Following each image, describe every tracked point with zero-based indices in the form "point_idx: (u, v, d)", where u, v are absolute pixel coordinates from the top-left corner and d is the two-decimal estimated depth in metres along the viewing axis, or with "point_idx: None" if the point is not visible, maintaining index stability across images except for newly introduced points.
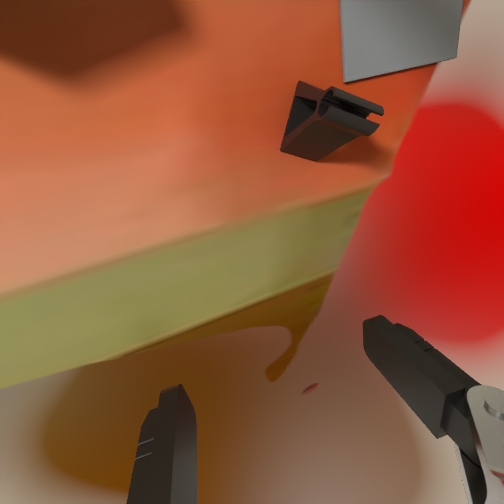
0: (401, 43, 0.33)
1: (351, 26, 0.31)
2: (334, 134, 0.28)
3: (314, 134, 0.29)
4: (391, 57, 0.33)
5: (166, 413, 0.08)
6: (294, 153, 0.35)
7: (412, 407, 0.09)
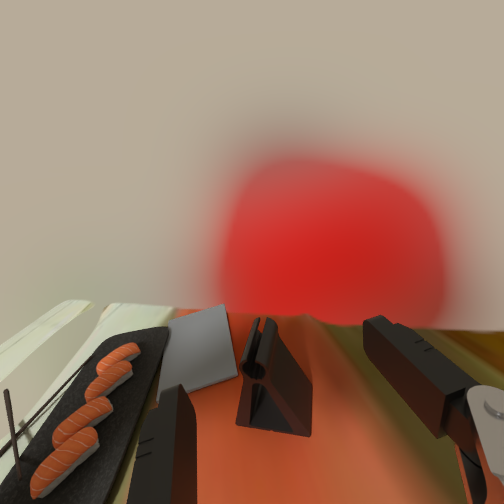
0: (213, 338, 0.43)
1: (198, 379, 0.36)
2: (280, 360, 0.27)
3: (284, 383, 0.26)
4: (221, 342, 0.42)
5: (166, 413, 0.08)
6: (309, 413, 0.28)
7: (412, 407, 0.09)
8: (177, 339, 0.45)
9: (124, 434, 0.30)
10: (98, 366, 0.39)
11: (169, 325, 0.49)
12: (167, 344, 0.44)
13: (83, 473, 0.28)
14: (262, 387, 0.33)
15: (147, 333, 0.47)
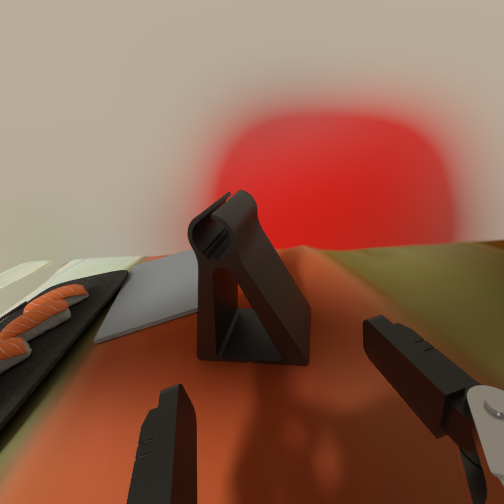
0: (182, 275, 0.33)
1: (154, 314, 0.26)
2: (261, 249, 0.18)
3: (265, 277, 0.16)
4: (192, 277, 0.32)
5: (166, 413, 0.08)
6: (306, 335, 0.19)
7: (412, 407, 0.09)
8: (138, 280, 0.35)
9: (32, 380, 0.20)
10: (25, 307, 0.30)
11: (132, 269, 0.39)
12: (125, 285, 0.34)
13: None
14: (240, 315, 0.23)
15: (102, 278, 0.37)
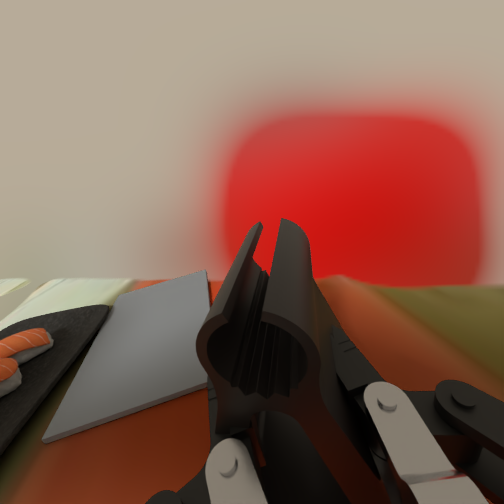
0: (180, 317, 0.25)
1: (137, 391, 0.18)
2: (328, 332, 0.09)
3: None
4: (193, 322, 0.24)
5: None
6: None
7: None
8: (122, 321, 0.26)
9: None
10: None
11: (117, 301, 0.31)
12: (104, 329, 0.26)
13: None
14: None
15: (76, 315, 0.29)
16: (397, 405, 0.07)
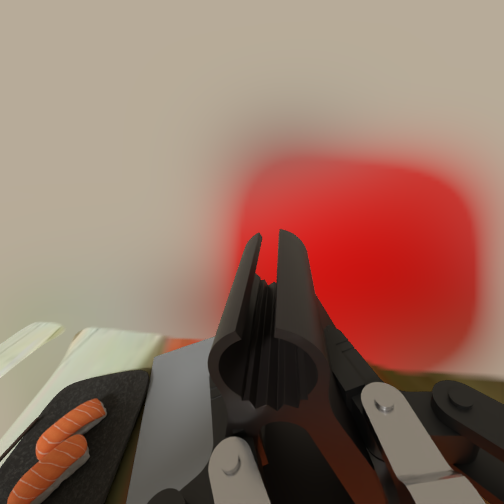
0: None
1: (192, 472, 0.23)
2: None
3: None
4: None
5: None
6: None
7: None
8: (164, 389, 0.31)
9: None
10: (38, 444, 0.26)
11: (154, 365, 0.36)
12: (149, 398, 0.31)
13: None
14: None
15: (120, 380, 0.34)
16: (394, 405, 0.07)
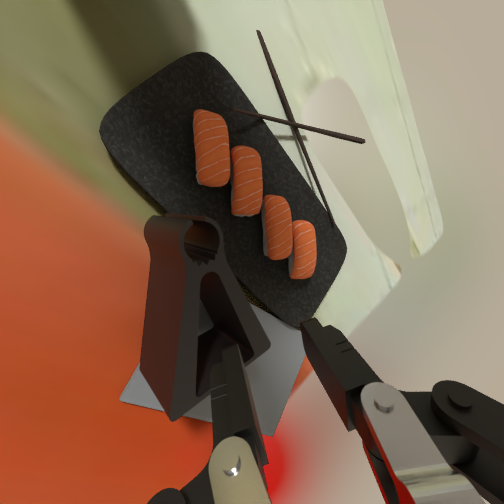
0: None
1: None
2: None
3: None
4: (202, 400, 0.23)
5: (232, 364, 0.09)
6: None
7: (333, 403, 0.09)
8: (268, 336, 0.27)
9: (182, 211, 0.22)
10: (307, 224, 0.27)
11: None
12: (271, 320, 0.27)
13: (183, 159, 0.22)
14: None
15: (313, 297, 0.30)
16: (394, 406, 0.07)
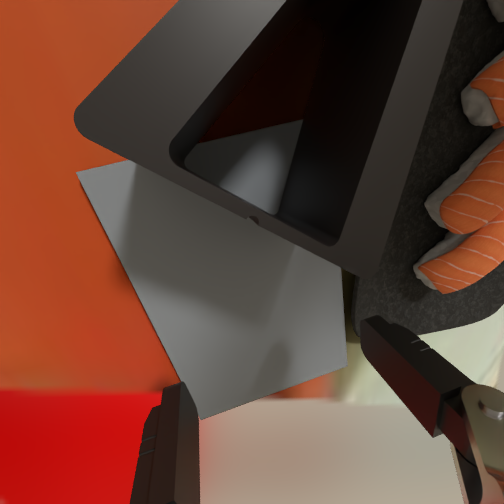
0: (204, 309, 0.14)
1: (215, 167, 0.11)
2: None
3: None
4: (172, 295, 0.13)
5: (169, 410, 0.08)
6: None
7: (408, 406, 0.09)
8: (312, 310, 0.16)
9: None
10: None
11: (342, 352, 0.18)
12: (336, 296, 0.16)
13: None
14: (190, 171, 0.10)
15: (404, 322, 0.18)
16: None
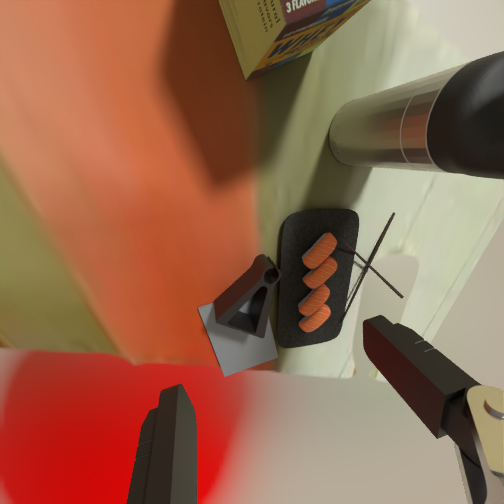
0: (227, 339, 0.47)
1: None
2: None
3: None
4: (218, 335, 0.46)
5: (166, 413, 0.08)
6: None
7: (412, 407, 0.09)
8: (262, 338, 0.48)
9: (285, 263, 0.43)
10: (328, 311, 0.47)
11: (275, 352, 0.51)
12: (270, 333, 0.48)
13: (305, 243, 0.43)
14: None
15: (298, 341, 0.50)
16: None
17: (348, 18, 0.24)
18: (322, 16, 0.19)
